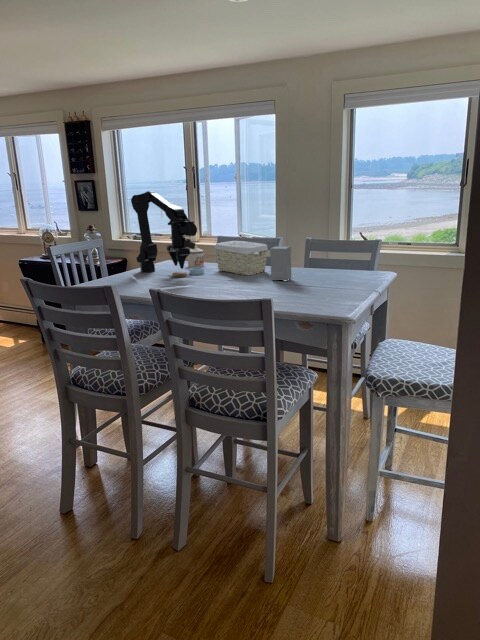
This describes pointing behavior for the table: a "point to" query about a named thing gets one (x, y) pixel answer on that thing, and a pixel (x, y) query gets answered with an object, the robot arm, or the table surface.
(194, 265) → the teacup with lid
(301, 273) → the table surface
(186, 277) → the mat
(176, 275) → the lid
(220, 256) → the storage basket
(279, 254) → the skincare box
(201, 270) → the bowl
